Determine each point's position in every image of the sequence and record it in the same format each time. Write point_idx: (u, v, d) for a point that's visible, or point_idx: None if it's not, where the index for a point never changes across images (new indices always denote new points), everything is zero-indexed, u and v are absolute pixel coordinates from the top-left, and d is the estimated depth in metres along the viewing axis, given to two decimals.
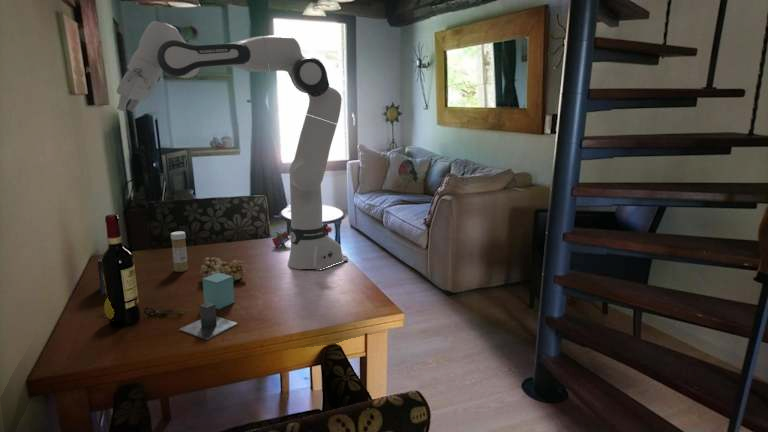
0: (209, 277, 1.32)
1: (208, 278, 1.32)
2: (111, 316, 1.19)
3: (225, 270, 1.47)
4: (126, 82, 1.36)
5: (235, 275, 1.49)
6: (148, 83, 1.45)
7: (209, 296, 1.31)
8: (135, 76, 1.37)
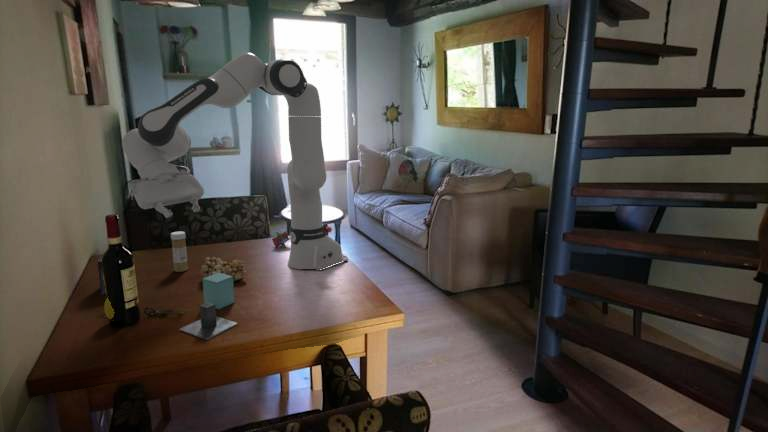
0: (209, 277, 1.32)
1: (208, 278, 1.32)
2: (111, 316, 1.19)
3: (226, 270, 1.47)
4: (136, 195, 1.28)
5: (236, 275, 1.49)
6: (165, 178, 1.34)
7: (209, 296, 1.31)
8: (136, 184, 1.28)
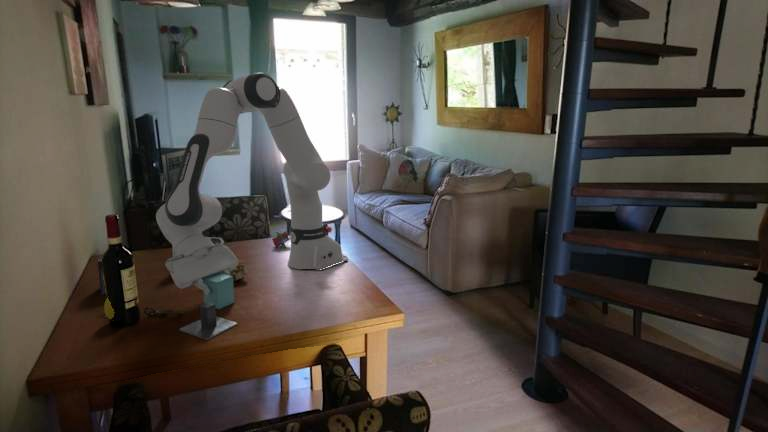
0: (209, 277, 1.32)
1: (208, 278, 1.32)
2: (111, 316, 1.19)
3: None
4: (173, 274, 1.26)
5: (237, 275, 1.50)
6: (200, 254, 1.32)
7: (209, 296, 1.31)
8: (173, 263, 1.27)
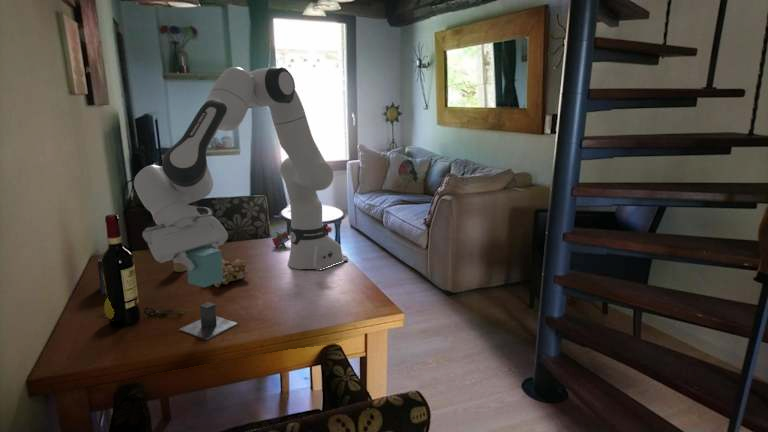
0: (194, 251, 1.15)
1: (192, 252, 1.14)
2: (111, 316, 1.19)
3: (228, 269, 1.47)
4: (152, 246, 1.09)
5: (238, 274, 1.50)
6: (184, 224, 1.15)
7: (194, 272, 1.14)
8: (151, 233, 1.09)
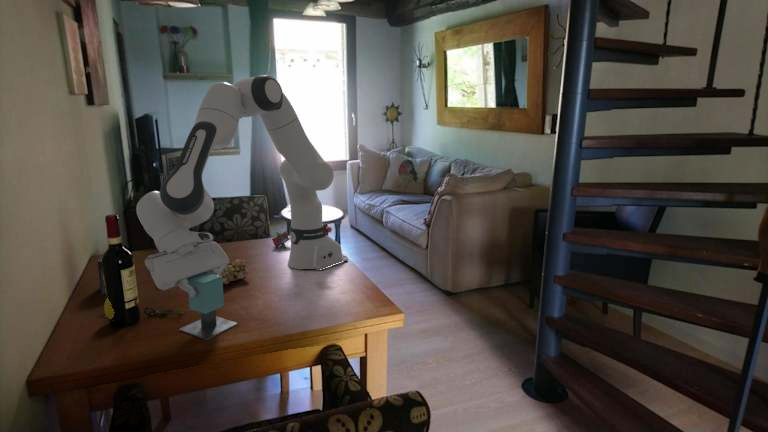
0: (195, 277, 1.16)
1: (194, 278, 1.16)
2: (111, 316, 1.19)
3: (228, 269, 1.48)
4: (154, 274, 1.10)
5: (238, 274, 1.50)
6: (186, 251, 1.17)
7: (195, 298, 1.15)
8: (153, 261, 1.11)
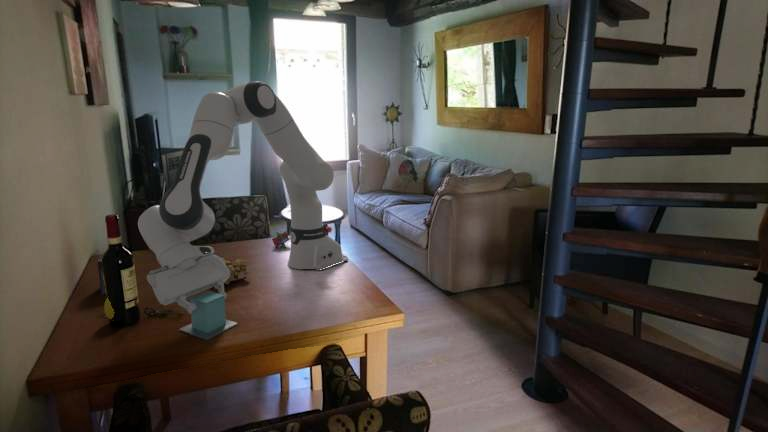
0: (197, 296, 1.18)
1: (196, 298, 1.17)
2: (111, 316, 1.19)
3: (229, 269, 1.48)
4: (156, 289, 1.11)
5: (239, 274, 1.50)
6: (187, 265, 1.17)
7: (198, 318, 1.17)
8: (155, 276, 1.12)
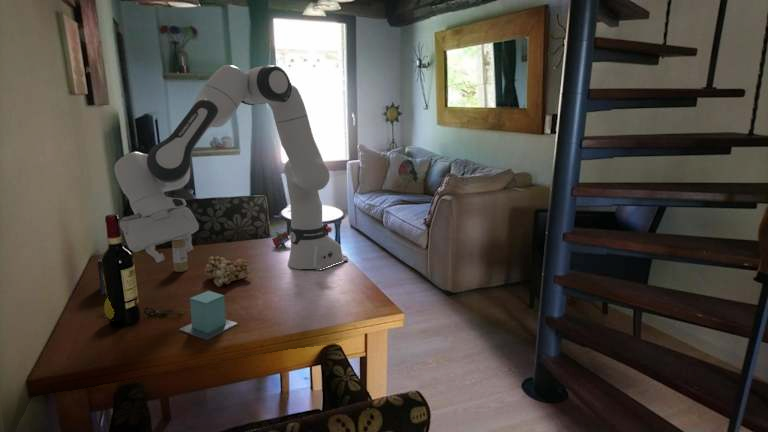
0: (197, 296, 1.18)
1: (196, 298, 1.17)
2: (111, 316, 1.19)
3: (230, 269, 1.48)
4: (127, 236, 1.17)
5: (239, 274, 1.50)
6: (159, 216, 1.23)
7: (198, 318, 1.17)
8: (128, 224, 1.17)
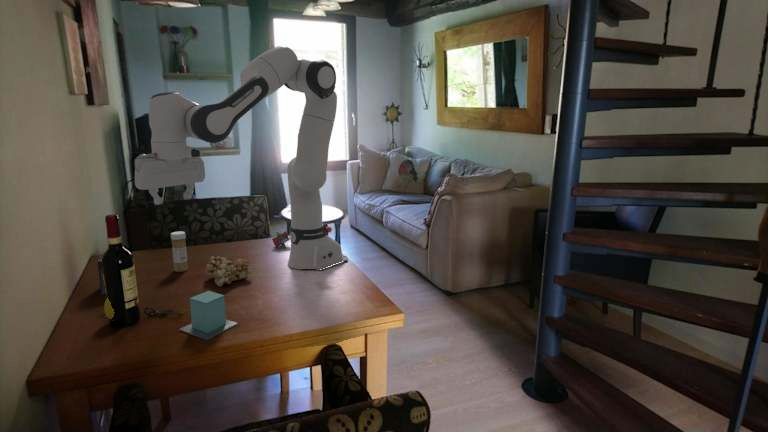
0: (197, 296, 1.18)
1: (196, 298, 1.17)
2: (111, 316, 1.19)
3: (230, 269, 1.48)
4: (137, 173, 1.21)
5: (240, 274, 1.50)
6: (173, 163, 1.27)
7: (198, 318, 1.17)
8: (142, 163, 1.21)
